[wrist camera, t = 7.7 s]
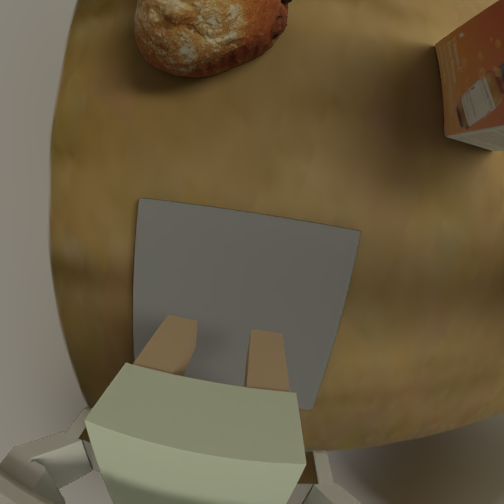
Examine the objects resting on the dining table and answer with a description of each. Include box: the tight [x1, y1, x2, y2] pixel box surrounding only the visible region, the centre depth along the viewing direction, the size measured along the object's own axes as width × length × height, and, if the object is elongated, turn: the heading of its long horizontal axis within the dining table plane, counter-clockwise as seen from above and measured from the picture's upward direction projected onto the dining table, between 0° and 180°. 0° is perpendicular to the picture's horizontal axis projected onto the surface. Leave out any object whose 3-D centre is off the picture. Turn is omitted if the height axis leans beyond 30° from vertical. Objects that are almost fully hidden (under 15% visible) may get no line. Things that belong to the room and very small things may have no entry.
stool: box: [84, 315, 306, 504], centre depth 10 cm, size 6×6×8 cm
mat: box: [133, 198, 361, 410], centre depth 19 cm, size 14×14×1 cm
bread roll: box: [134, 0, 292, 78], centre depth 14 cm, size 10×10×8 cm
